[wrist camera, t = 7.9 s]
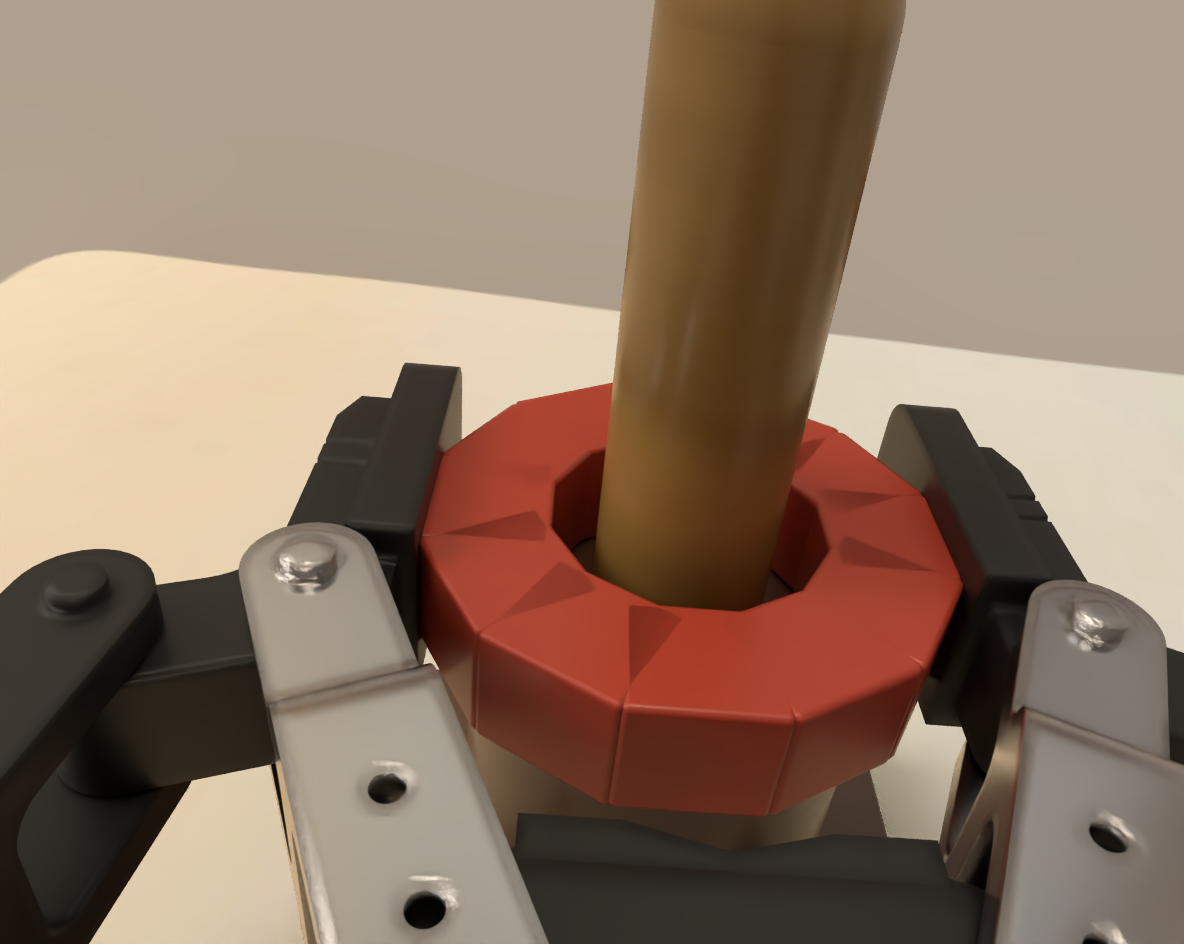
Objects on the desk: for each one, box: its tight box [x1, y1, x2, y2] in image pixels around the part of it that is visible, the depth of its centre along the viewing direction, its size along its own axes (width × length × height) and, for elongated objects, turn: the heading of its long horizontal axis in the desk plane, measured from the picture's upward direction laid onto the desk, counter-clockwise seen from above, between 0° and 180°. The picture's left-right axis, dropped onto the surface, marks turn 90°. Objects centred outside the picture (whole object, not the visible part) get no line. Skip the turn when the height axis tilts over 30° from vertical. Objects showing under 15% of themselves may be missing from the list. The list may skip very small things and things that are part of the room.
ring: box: [420, 383, 963, 817], centre depth 11 cm, size 6×6×1 cm
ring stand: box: [437, 0, 906, 851], centre depth 12 cm, size 9×9×15 cm
